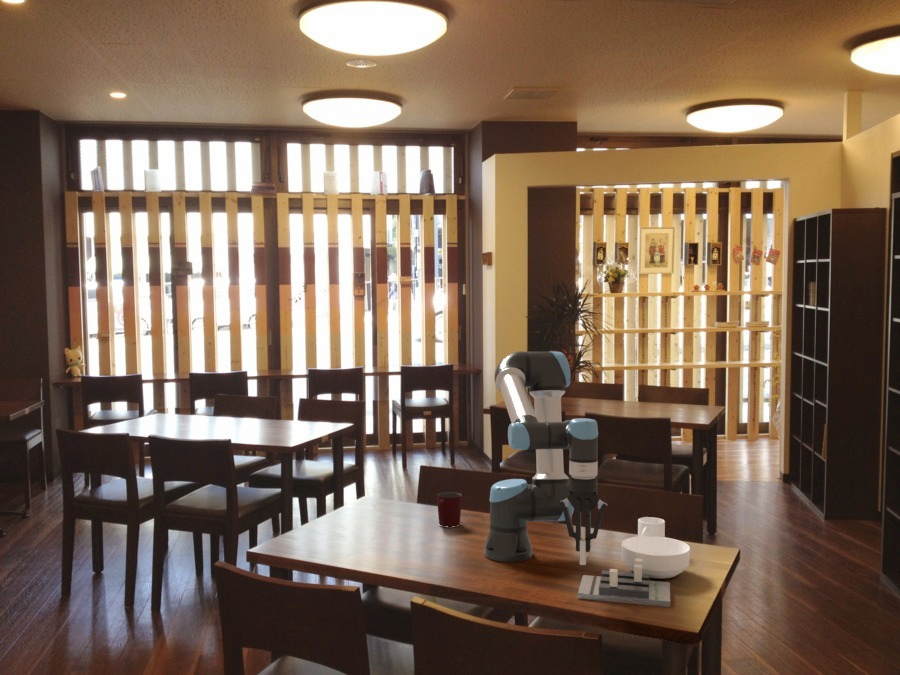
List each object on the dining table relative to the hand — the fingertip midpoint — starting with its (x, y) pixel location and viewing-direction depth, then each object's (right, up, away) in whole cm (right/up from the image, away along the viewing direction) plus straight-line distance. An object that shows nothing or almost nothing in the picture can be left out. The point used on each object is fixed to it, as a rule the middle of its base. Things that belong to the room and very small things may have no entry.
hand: (583, 563), depth 216 cm
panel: (+12, -9, +3) cm, 15 cm away
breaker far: (+17, -5, +8) cm, 19 cm away
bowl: (+25, -9, +20) cm, 33 cm away
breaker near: (+8, -5, -1) cm, 10 cm away
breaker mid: (+15, -5, +2) cm, 16 cm away
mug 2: (+27, -8, +38) cm, 48 cm away
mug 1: (-37, -7, +70) cm, 79 cm away
